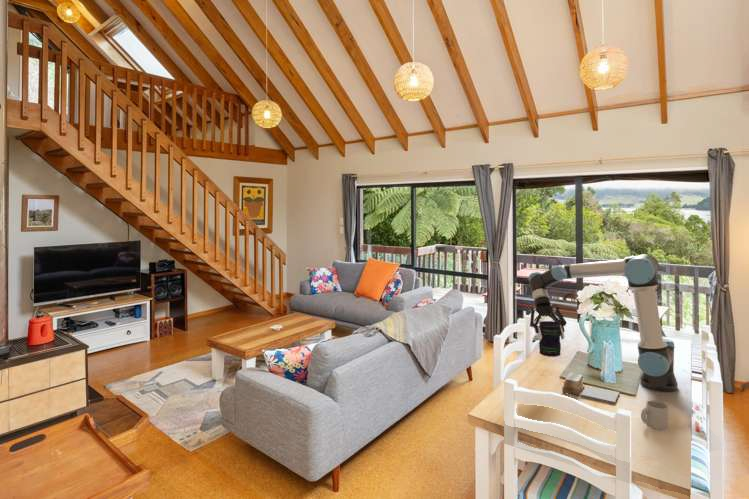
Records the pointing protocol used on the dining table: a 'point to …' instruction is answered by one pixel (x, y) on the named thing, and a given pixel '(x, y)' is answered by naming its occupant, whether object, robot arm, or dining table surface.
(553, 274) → the robot arm
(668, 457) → the dining table surface
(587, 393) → the slate board
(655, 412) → the cup
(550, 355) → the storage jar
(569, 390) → the brown wooden block
